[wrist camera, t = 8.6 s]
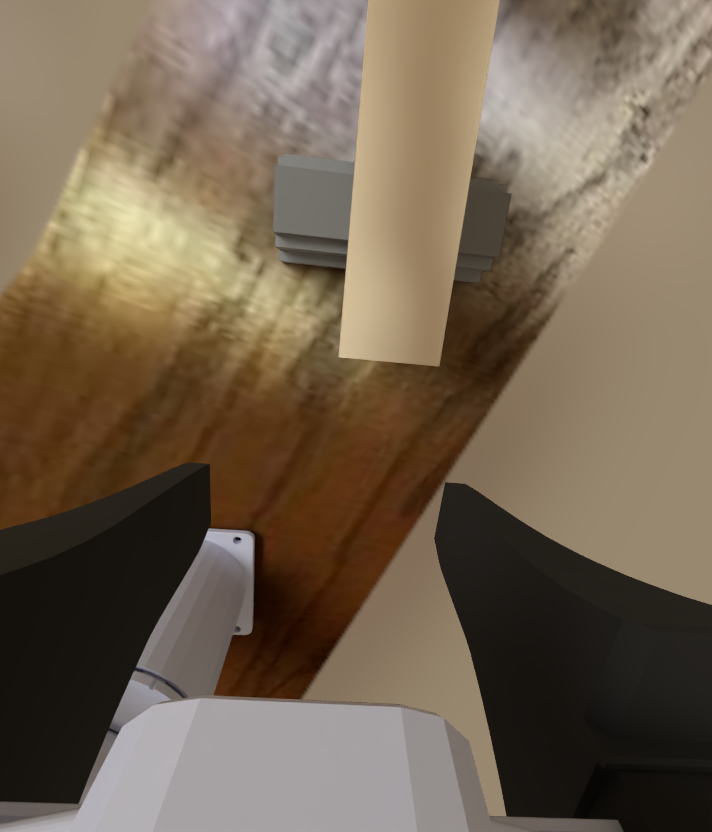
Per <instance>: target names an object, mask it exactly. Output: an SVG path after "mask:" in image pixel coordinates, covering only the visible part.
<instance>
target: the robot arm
mask: <svg viewBox="0 0 712 832" xmlns="http://www.w3.org/2000/svg"><path fill="white" fill-rule="evenodd" d="M210 524H211V504H210V465H209V464H202V463H186V464H183V465H180V466H177V467H175V468H173V469H170V470H168V471H166V472H163V473H161V474H159V475H157V476H154V477H152V478H150V479H148V480H146V481H143V482H141V483H139V484H137V485H134V486H132V487H130V488H127V489H125V490H122V491H120V492H117V493H115V494H113V495H110V496H108V497H105V498H103V499H100V500H98V501H95V502H92V503H90V504H87V505H84V506H81V507H79V508H76V509H73V510H70V511H66V512H63V513H60V514H57V515H54V516H51V517H47V518H44V519H40V520H37V521H33V522H29V523H25V524H21V525H17V526H14V527H10V528H6V529H2V530H0V832H712V605H709V604H706V603H703V602H700V601H697V600H693V599H690V598H687V597H683V596H681V595H678V594H675V593H672V592H669V591H667V590H664V589H661V588H658V587H655V586H653V585H650V584H647V583H645V582H642V581H639V580H636V579H634V578H632V577H629V576H626V575H624V574H622V573H620V572H617V571H615V570H612V569H610V568H608V567H606V566H604V565H601V564H599V563H596V562H594V561H592V560H590V559H588V558H586V557H584V556H582V555H580V554H578V553H576V552H574V551H572V550H570V549H568V548H566V547H564V546H563V545H561V544H559V543H557V542H555V541H553V540H551V539H549V538H548V537H546V536H544V535H543V534H541V533H540V532H538V531H536V530H535V529H533V528H531V527H530V526H528V525H526V524H525V523H523V522H522V521H520V520H519V519H517V518H516V517H514V516H513V515H511V514H510V513H508V512H507V511H505V510H504V509H502V508H501V507H499V506H498V505H496V504H495V503H493V502H492V501H491V500H489V499H488V498H486V497H485V496H483V495H482V494H481V493H479V492H478V491H476V490H474V489H473V488H471V487H469V486H468V485H466V484H459V483H446V482H445V486H444V492H443V497H442V502H441V507H440V512H439V518H438V523H437V528H436V533H435V538H434V539H435V544H436V549H437V554H438V559H439V563H440V567H441V570H442V573H443V576H444V579H445V582H446V584H447V587H448V590H449V593H450V596H451V598H452V601H453V604H454V607H455V609H456V612H457V615H458V618H459V620H460V623H461V626H462V629H463V631H464V634H465V637H466V640H467V643H468V646H469V650H470V653H471V657H472V661H473V665H474V669H475V672H476V676H477V680H478V684H479V688H480V692H481V697H482V701H483V705H484V710H485V714H486V718H487V723H488V727H489V731H490V736H491V741H492V745H493V750H494V755H495V760H496V764H497V769H498V774H499V779H500V783H501V789H502V794H503V799H504V805H505V810H506V815H507V817H502V816H489V814H488V810H487V806H486V803H485V799H484V795H483V792H482V788H481V784H480V781H479V777H478V773H477V769H476V766H475V762H474V759H473V755H472V751H471V748H470V744H469V741H468V740H467V739H466V738H465V737H464V736H463V735H462V734H461V733H459V732H458V731H457V730H456V729H455V728H454V727H453V726H452V725H451V724H450V723H449V722H448V721H446V720H445V719H444V718H443V717H441V716H440V715H437V714H436V713H432V712H428V711H424V710H420V709H416V708H412V707H408V706H403V705H400V704H383V703H382V704H381V703H362V702H338V701H318V700H296V699H274V698H252V697H230V696H213V694H214V691H215V688H216V685H217V682H218V679H219V676H220V673H221V670H222V667H223V664H224V660H225V657H226V654H227V651H228V648H229V645H230V642H231V639H232V636H233V635H248V634H250V633H251V632H252V628H253V608H254V560H255V536H254V534H253V533H252V532H250V531H242V530H226V529H210V528H209V527H210ZM235 537H239V538H241V540H236V539H235ZM236 626H237V627H236ZM238 627H239V628H238Z"/></svg>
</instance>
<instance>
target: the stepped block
mask: <svg viewBox="0 0 712 832" xmlns="http://www.w3.org/2000/svg"><path fill="white" fill-rule="evenodd" d="M354 166H355V162H347V161H339V160H331V159H324V158H316V157H308V156H300V155H292V154H284V153H283V157H278V165H275V181H274V215H273V232H274V233H275V234H276V242H275V246H276V247H277V248H278V249H280V252H279V261H281V262H285V263H294V264H303V265H313V266H322V267H331V268H341V269H346V261H347V249H348V237H349V225H350V213H351V201H352V189H353V178H354ZM506 188H507V185H501V184H498V180H491V179H483V178H475V177H470V183H469V189H468V195H467V201H466V207H465V213H464V220H463V226H462V232H461V238H460V244H459V250H458V256H457V262H456V268H455V274H454V280H453V281H462V282H471V283H478V282H480V278H481V273H482V272H483V271H488V270H491V267H492V261H493V258H497V257H499V255H500V250H501V245H502V239H503V234H504V229H505V224H506V219H507V214H508V209H509V204H510V199H511V194H508V193H506Z"/></svg>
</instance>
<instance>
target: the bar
mask: <svg viewBox="0 0 712 832" xmlns="http://www.w3.org/2000/svg"><path fill="white" fill-rule="evenodd" d="M499 2H500V0H369V2H368V13H367V25H366V36H365V47H364V59H363V70H362V82H361V94H360V106H359V118H358V130H357V142H356V154H355V166H354V178H353V189H352V201H351V213H350V225H349V237H348V249H347V261H346V273H345V285H344V297H343V308H342V320H341V332H340V346H339V357H342V358H353V359H364V360H375V361H386V362H396V363H407V364H418V365H429V366H439V365H440V359H441V353H442V347H443V341H444V335H445V328H446V322H447V316H448V310H449V304H450V298H451V292H452V286H453V280H454V274H455V268H456V262H457V256H458V250H459V244H460V238H461V232H462V226H463V220H464V213H465V207H466V201H467V195H468V189H469V183H470V177H471V171H472V165H473V159H474V153H475V147H476V141H477V135H478V129H479V123H480V117H481V111H482V104H483V98H484V92H485V86H486V80H487V74H488V68H489V62H490V56H491V50H492V44H493V38H494V32H495V26H496V20H497V14H498V8H499Z"/></svg>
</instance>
